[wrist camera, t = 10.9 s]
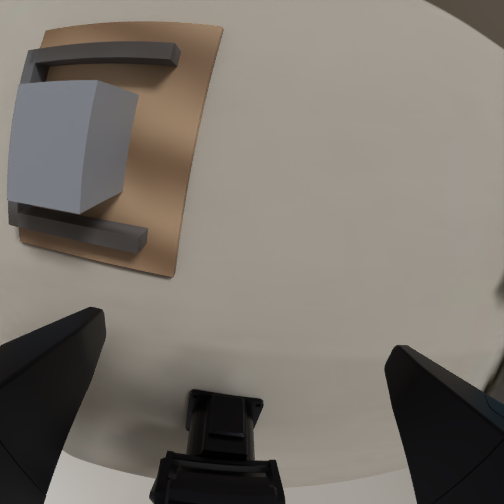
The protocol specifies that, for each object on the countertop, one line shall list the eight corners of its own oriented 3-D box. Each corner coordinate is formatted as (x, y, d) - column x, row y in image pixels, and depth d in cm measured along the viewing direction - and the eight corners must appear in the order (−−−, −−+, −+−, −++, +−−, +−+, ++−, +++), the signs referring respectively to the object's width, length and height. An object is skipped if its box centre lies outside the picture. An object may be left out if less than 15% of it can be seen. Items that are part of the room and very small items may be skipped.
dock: (174, 273, 20) (167, 290, 17) (24, 238, 18) (6, 249, 16) (223, 30, 14) (220, 15, 12) (50, 32, 13) (31, 25, 10)
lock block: (122, 191, 17) (79, 214, 12) (59, 181, 16) (7, 200, 11) (139, 94, 15) (97, 80, 10) (71, 92, 14) (19, 84, 9)
